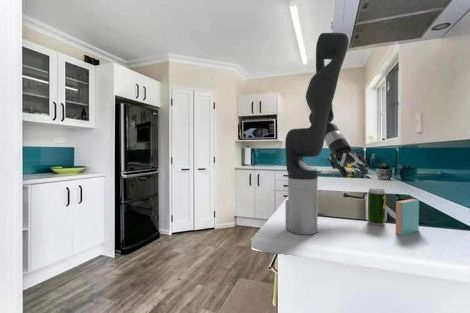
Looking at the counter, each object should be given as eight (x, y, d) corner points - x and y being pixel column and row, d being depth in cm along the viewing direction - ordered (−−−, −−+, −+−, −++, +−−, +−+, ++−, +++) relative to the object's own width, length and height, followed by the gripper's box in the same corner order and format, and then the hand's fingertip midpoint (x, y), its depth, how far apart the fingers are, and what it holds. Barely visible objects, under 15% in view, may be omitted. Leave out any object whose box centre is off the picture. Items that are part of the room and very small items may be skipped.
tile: (395, 233, 77) (396, 201, 76) (411, 228, 81) (412, 198, 81) (402, 235, 75) (402, 203, 75) (418, 230, 79) (419, 199, 79)
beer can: (368, 224, 86) (368, 190, 85) (366, 220, 90) (367, 188, 90) (386, 226, 83) (386, 191, 83) (383, 222, 88) (384, 189, 88)
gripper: (325, 138, 99) (344, 171, 89) (356, 136, 102) (377, 168, 92) (318, 150, 105) (335, 182, 95) (347, 148, 108) (366, 179, 98)
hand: (356, 175), depth 94 cm, fingers open, 8 cm apart
